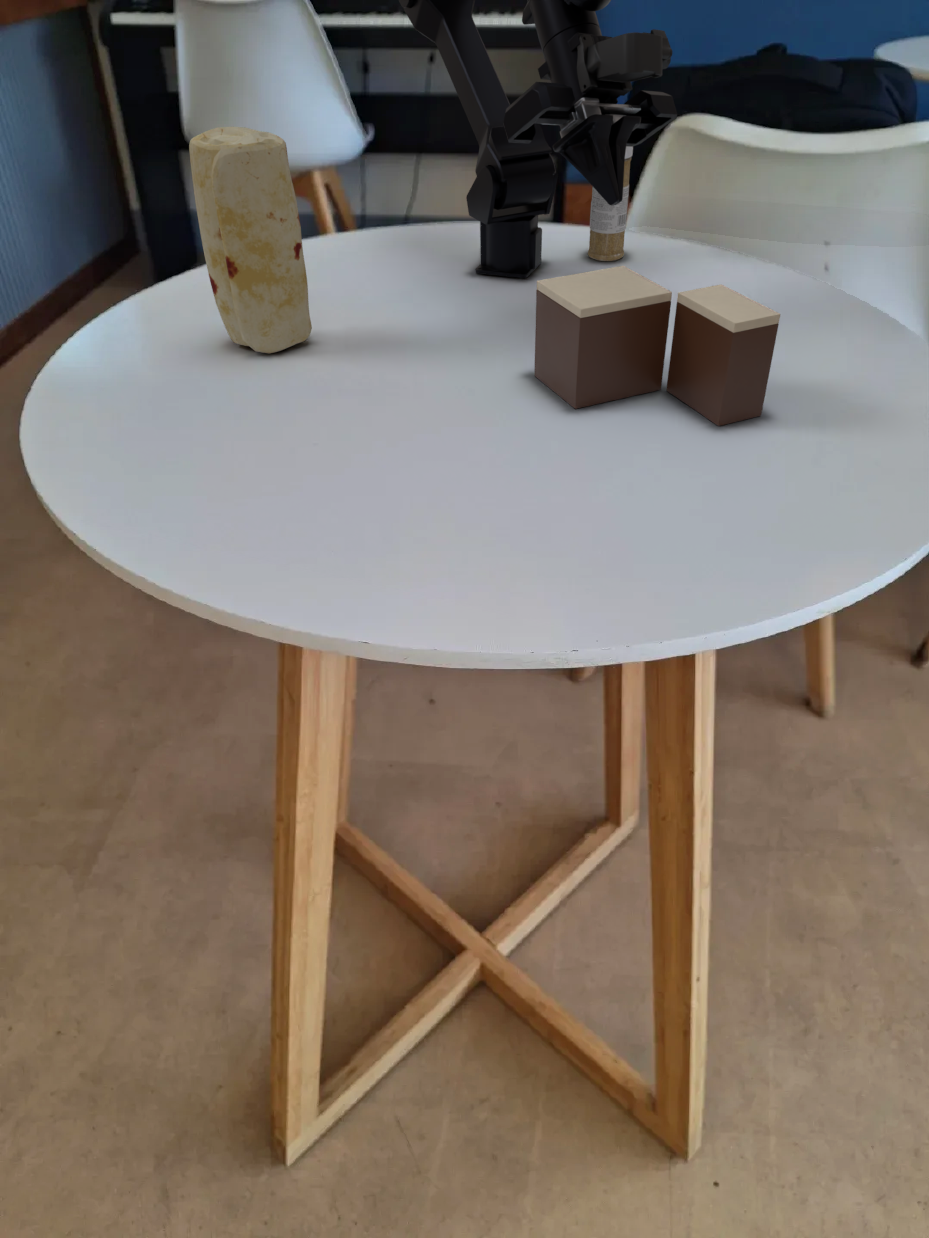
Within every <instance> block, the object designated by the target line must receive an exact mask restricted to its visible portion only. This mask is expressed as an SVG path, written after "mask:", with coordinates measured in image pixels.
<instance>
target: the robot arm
mask: <svg viewBox="0 0 929 1238" xmlns="http://www.w3.org/2000/svg"><path fill="white" fill-rule="evenodd" d="M611 1H612V0H527V3H526V5H525V7H524V9H523V10H522V17H521V23H522V24H523V25H525V26H526V25H534V27H535V30H536V33H537V37H538V41H539V44H540V48H541V51H542V54H543V58H544V63H543V64H541V65H539V67H538V68H537V71H538V75H539V78H540V80H545V81H535V82H534V83H533V84H532V85H531V86H530V87H528V88H527V89H526V90H525V91H524V92H523V93H522V94H521V95H520V96H519V97H518V98H516V99H515V100H514V101H513V102H512V103H510V100H509V99H508V97H507V93H506V92H505V90H504V87H503V85H502V83H501V80H500V78H499V75H498V74H497V71H496V69H495V67H494V64H493V62H492V60H491V57H490V55H489V53H488V51H487V48H486V45H485V44H484V41H483V40H482V37H481V35H480V32H479V30H478V27H477V25H476V23H475V20H474V18H473V12H474V9H475V2H476V0H398V2H399V4H400V6H401V7H402V8H403V10H404V12H405V15H406V16H407V18H408V21H410V23H411V24H412V25H411V26H412V27H413V28H414V30H415V31H416V32H417V31H418V32H419V34H421V35H422V36H424V37H426V38H427V39H429V40H430V41H431V42H433V43H435V45H436V47H437V50H438V52H439V54H440V56H441V59H442V62H443V64H444V66H445V68H446V71H447V72H448V73H447V74H448V75H449V78H450V80H451V82H452V85H453V87H454V90H455V92H456V94H457V96H458V99H459V101H460V103H461V106H462V109H463V111H464V113H465V115H466V118H467V120H468V122H469V125H470V127H471V129H472V132H473V134H474V136H475V139H476V141H477V143H478V147H479V149H478V155H477V160H476V165H475V169H474V170H475V171H474V172H475V176H476V177H475V179H474V181H473V183H472V185H471V187H470V189H469V190H468V192H467V194H466V198H465V200H466V206H467V212H468V216H469V217H471V218H473V219H475V220H477V221H478V222H479V238H480V239H479V245H480V246H479V247H480V249H479V250H480V251H479V252H480V253H479V254H480V255H479V256H480V264H479V265H477V267H476V268H475V273H476V274H479V275H480V274H481V275H488V276H489V275H490V276H498V277H508V278H518V279H526V278H528V277H529V276H530V275H531V274H532V273H533V272H534V271H535V270H536V269H537V268H538V267H539V266H540V265H541V264H542V248H543V245H542V244H543V242H542V241H543V228H541V227H539V216H542V215H545V216H547V215H550V213H551V211H552V209H551V208H552V206H553V200H554V196H555V191H556V188H557V183H558V178H559V175H558V171H557V170H558V169H557V165H556V163H555V161H554V159H553V157H552V155H551V154H552V153H553V151H554V153H558V154H560V155H561V156H562V157H563V158H565V160H566V161H568V162H569V164H570V165H572V166H573V167H574V168H575V169H576V170H577V171H578V172H579V173H580V174H581V175H582V177H583V178H584V179H585V180H586V181H587V182H588V184H590V185H591V186H592V188H593V187H594V188H595V190H596V191H597V192H598V193H599V194H600V195H601V196H602V197H603V198H604V200H605V201H606V202H607V203H608V204H609V205H617V204H618V203H620V202H621V201H622V199H623V181H624V162H625V152H626V146H629V147H633V148H634V147H635V146H638V145H641V144H642V143H643V142H645V141H646V140H647V139H649V138H650V137H652V136H653V135H655V134H656V133H657V132H659V131H660V130H661V129H663V128H664V127H665V126H667V125H669V124H670V123H671V122H673V121H674V120H675V119H677V117H678V112H677V108H676V105H675V101H674V98H673V95H671V94H669V93H666V92H663V91H653V90H639V91H638V92H637V93H636V94H634V95H633V96H632V97H631V98H629V99H628V100H627V101H626V102H624V103H621V104H620V103H619V101H618V99H619V98H620V97H624V96H626V95H627V94H628V93H629V92H631V91H632V90H633V86H632V82H637V81H640V80H645V79H648V78H652V79H657V78H661V77H662V76H663V70H666V69H668V68H669V66H670V64H671V60H672V56H673V49H672V48H671V44H670V42H669V38H668V37H667V33H666V31H665V30H661V29H655V28H653V29H651V30H650V32H646V31H645V32H644V31H643V32H635V31H634V32H627V33H623V34H619V35H616V36H607V35H602V31H601V27H600V23H599V19H598V16H597V14H596V12H598V11H601V10H603V9H604V8H606V7H607V6H608V5H610V3H611ZM547 81H550V82H547ZM541 125H545V126H546V125H547V126H548V125H549V126H559V129H560V131H559V135H560V138H559V140H557V141H556V142H555V143H554V144H553V145H552V148H551V146H549V144H548V142H547V140H546V137H545V135H544V132H543V128H542V127H541Z"/></svg>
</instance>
